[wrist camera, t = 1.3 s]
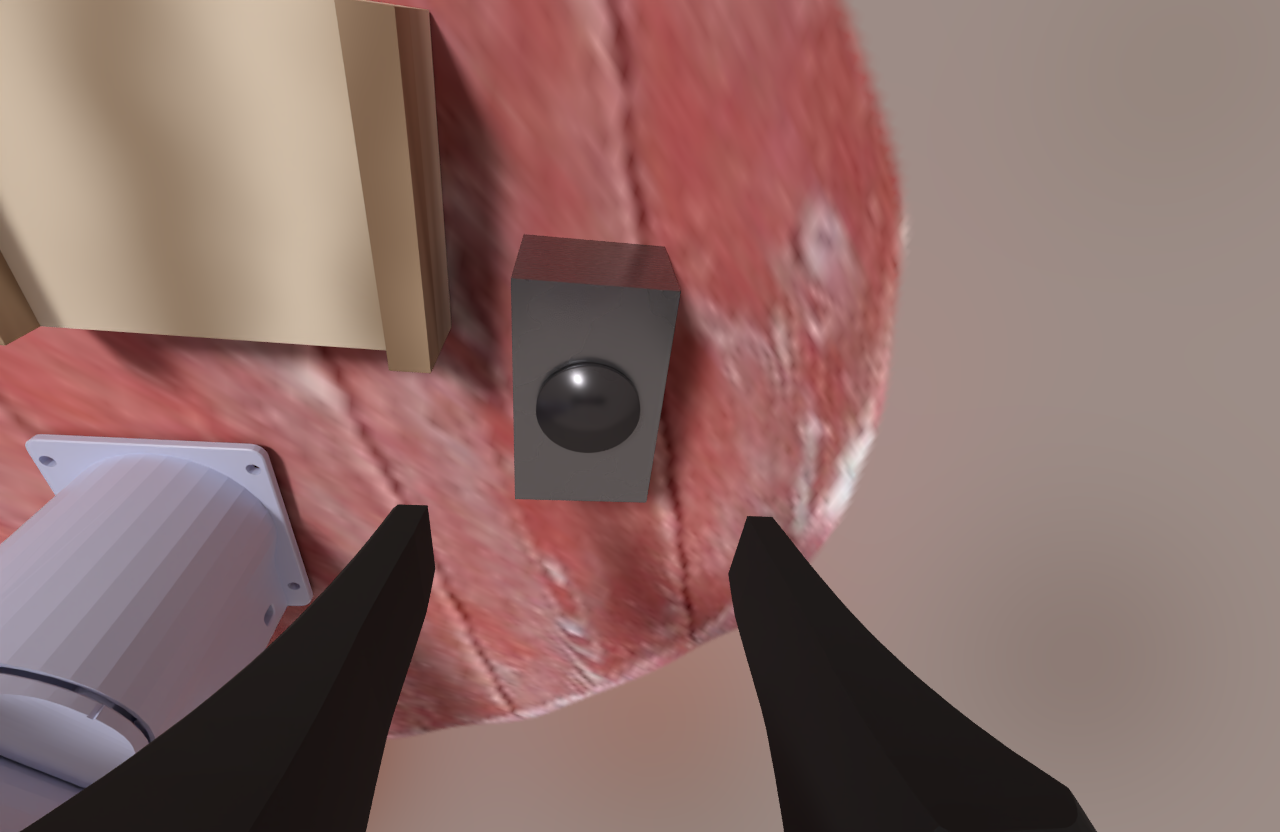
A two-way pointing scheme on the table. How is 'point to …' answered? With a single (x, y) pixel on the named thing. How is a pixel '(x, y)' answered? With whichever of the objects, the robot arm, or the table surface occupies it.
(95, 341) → the table surface
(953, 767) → the robot arm
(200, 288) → the stand
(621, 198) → the table surface
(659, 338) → the housing
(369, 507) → the table surface
